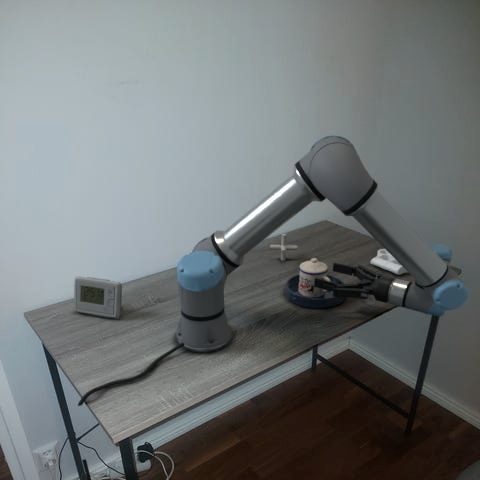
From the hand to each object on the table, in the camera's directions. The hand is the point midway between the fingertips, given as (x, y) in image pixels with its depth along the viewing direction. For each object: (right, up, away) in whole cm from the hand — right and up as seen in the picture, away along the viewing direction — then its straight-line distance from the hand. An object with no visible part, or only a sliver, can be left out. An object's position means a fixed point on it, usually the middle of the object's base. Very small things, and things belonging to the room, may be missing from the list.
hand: (324, 274), depth 141 cm
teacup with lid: (-2, -6, +5) cm, 8 cm away
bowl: (-2, -6, +5) cm, 8 cm away
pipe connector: (-10, +8, +30) cm, 33 cm away
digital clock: (-69, -12, -3) cm, 70 cm away
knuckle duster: (+31, +5, +24) cm, 39 cm away
